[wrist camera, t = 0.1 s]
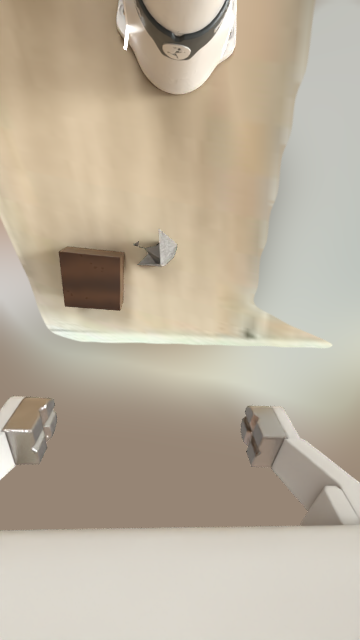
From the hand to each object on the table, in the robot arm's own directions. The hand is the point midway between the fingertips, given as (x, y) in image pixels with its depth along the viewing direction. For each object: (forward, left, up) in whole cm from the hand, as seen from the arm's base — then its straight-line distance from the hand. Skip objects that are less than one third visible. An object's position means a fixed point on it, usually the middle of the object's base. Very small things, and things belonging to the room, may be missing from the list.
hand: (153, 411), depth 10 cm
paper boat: (+2, -1, -48) cm, 48 cm away
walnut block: (+10, -14, -48) cm, 51 cm away
